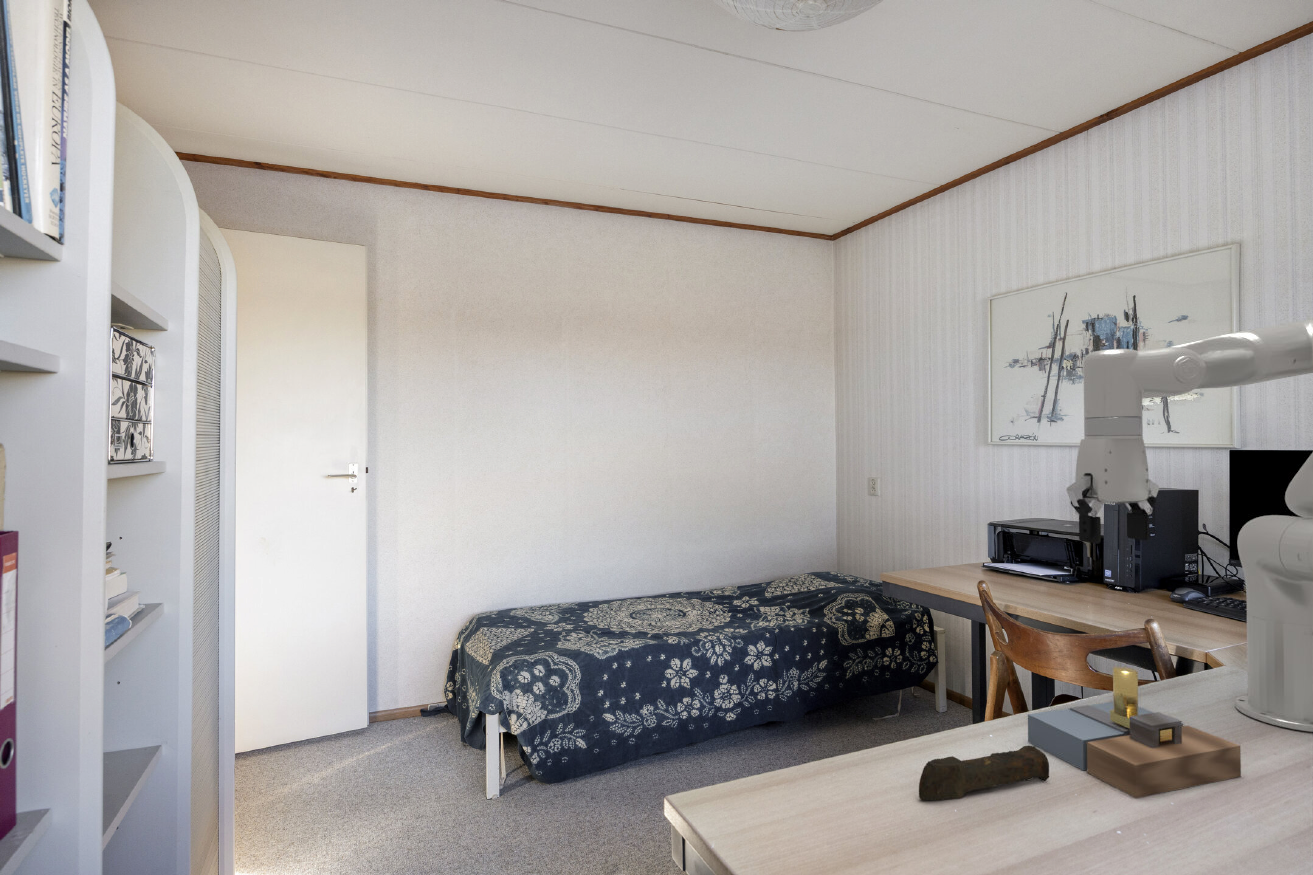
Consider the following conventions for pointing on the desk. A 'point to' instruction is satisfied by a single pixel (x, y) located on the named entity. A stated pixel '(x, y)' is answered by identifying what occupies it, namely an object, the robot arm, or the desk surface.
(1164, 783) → the door jamb
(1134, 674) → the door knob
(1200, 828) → the desk surface
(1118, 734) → the door leaf
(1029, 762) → the hand tool
